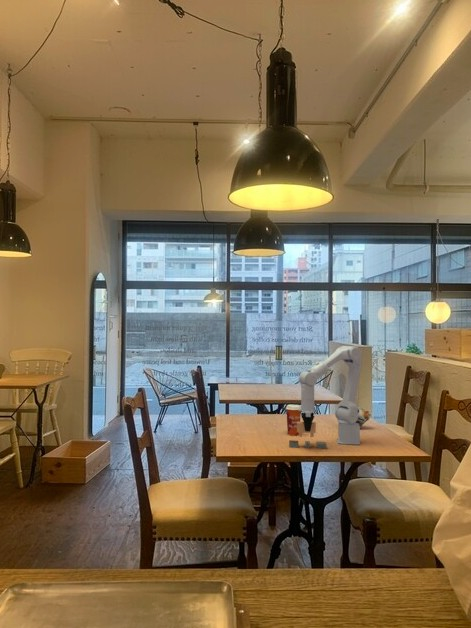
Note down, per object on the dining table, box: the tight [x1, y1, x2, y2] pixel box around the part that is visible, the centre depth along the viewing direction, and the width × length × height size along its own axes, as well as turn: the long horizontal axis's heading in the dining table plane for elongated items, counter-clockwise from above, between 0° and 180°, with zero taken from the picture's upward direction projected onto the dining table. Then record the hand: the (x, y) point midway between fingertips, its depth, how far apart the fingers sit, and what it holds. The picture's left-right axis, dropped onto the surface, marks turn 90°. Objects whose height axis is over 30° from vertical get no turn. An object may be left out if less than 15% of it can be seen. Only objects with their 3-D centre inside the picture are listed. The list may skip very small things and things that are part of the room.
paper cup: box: [285, 404, 302, 437], centre depth 213 cm, size 8×8×14 cm
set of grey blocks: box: [288, 439, 327, 450], centre depth 190 cm, size 16×4×2 cm, turn 82°
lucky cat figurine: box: [347, 406, 372, 427], centre depth 229 cm, size 15×12×14 cm
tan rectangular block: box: [297, 421, 317, 438], centre depth 190 cm, size 8×3×6 cm, turn 82°
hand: (307, 430), depth 190 cm, fingers closed on tan rectangular block, 3 cm apart
